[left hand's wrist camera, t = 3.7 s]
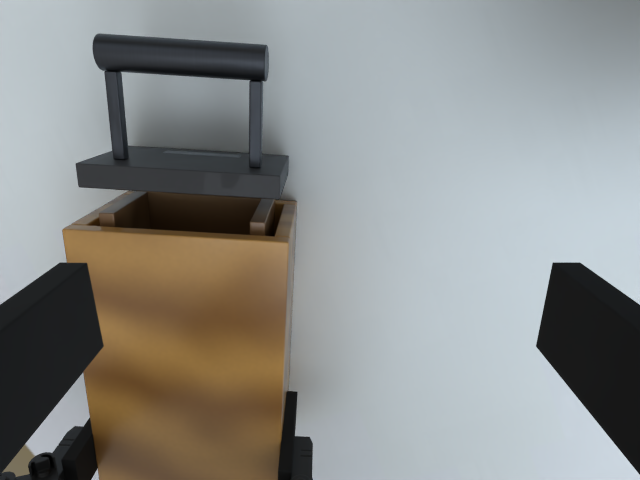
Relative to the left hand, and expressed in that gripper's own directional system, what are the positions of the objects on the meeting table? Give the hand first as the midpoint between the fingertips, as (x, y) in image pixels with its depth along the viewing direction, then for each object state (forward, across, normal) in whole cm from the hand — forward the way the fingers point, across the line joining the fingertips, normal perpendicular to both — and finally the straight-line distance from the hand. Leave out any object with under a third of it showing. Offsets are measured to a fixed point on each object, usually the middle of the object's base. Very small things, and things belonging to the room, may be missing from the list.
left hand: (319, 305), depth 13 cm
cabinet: (+17, -8, -10) cm, 21 cm away
